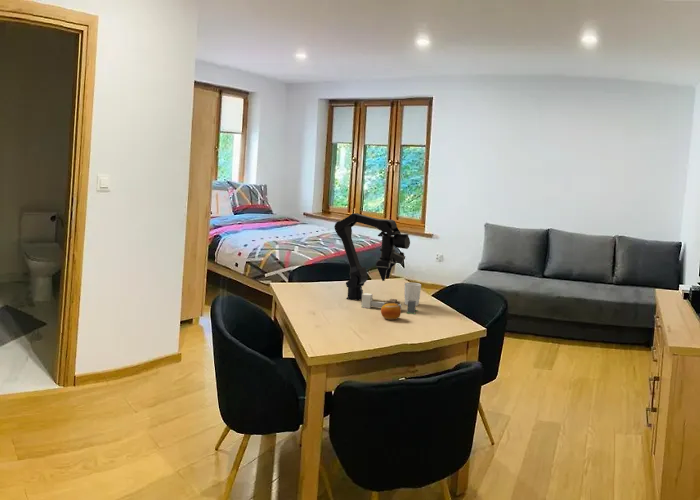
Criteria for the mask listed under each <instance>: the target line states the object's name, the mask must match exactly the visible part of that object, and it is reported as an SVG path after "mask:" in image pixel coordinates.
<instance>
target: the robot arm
mask: <svg viewBox="0 0 700 500" xmlns="http://www.w3.org/2000/svg"><path fill="white" fill-rule="evenodd" d="M357 223H359V224H363V225H366V226H370V227H373V228H377V230H379V231H380V232H379V233H378V234H377V236H378V237H381V248H380V249H379V251H380V257H379V259H378V260H376V261H375V266H376V269H377V271H378V273H379V277H380V278H381V281H382V282H385V281H386V278H387V279H388V278H390V276H391V272H392V270H393V267H394V266H395V265H397V263H398V264H403V263H404V262H405V260H406V256H405V253H404V252H403V251H401V252H400V253H399V252H396V249H397V248H398V249H403V250H404V249H406V250H408V249H409V247H410V245H411V240H410V237H409V234H408V233H401V231H400V229H399V228H398V225H397V222H396V221H395V220H394V219H385V218H384V219H382V218H380V219H379V218H375V217H371V216H367V215H364V214H360V213H358V212H357V213H356V212H354V213H351V214H350V215H348V216H346V217H345V218H343V219H342V220H337V222H335V224H334V227H333V228H334V230H335V233H336V235H337V236H338V238H340V240H341V242H342V245H343V248H344V252H345V254H346V257H347V261H348V264H349V266H350V267H349V268H350V270H349V279H348V280H347V281H346V282H345V285H346V288H347V297H346V300H351V301H361V300H362V294H364V290H363V286H365V283H366V282H367V280H368V275H369V274H368V273H367V268H366V267H362V265H361V264H360V260H359V257H358V254H357V251H356V249H355V244H354V242H353V238H352V236H353V235H352V233H353V229H352V228H353V227H354V226H355V225H356V224H357ZM394 247H395V248H396V249H395V248H394Z"/></svg>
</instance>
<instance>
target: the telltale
mask: <svg viewBox="0 0 700 500" xmlns="http://www.w3.org/2000/svg"><path fill="white" fill-rule="evenodd" d="M415 304H416V301H411V300H409V301H408V305H407V311H406V313H407V312H410V313H416V311H415V310H416V306H415Z"/></svg>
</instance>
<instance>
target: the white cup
mask: <svg viewBox="0 0 700 500" xmlns="http://www.w3.org/2000/svg"><path fill="white" fill-rule="evenodd" d="M421 289H422V284H421V283H420V282H410V281H409V282H404V297H403V298H404V305H406V306H408V301H409V300H411V301H416V304H415V307H416V306H419V304H420V297H421V292H422V290H421Z"/></svg>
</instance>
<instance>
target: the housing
mask: <svg viewBox="0 0 700 500" xmlns="http://www.w3.org/2000/svg"><path fill="white" fill-rule="evenodd" d="M388 303H395V304H397V305H398V304H401V301H400V300H399V301H398V299H395V298H390V299H389V300H388V299H387V300H386V301H385V303H384V305H385V304H388ZM416 312H419V310H417V309H415V312H414V313H410V312H407V311H406V314H408V315H409V314H411V315H416Z"/></svg>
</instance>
